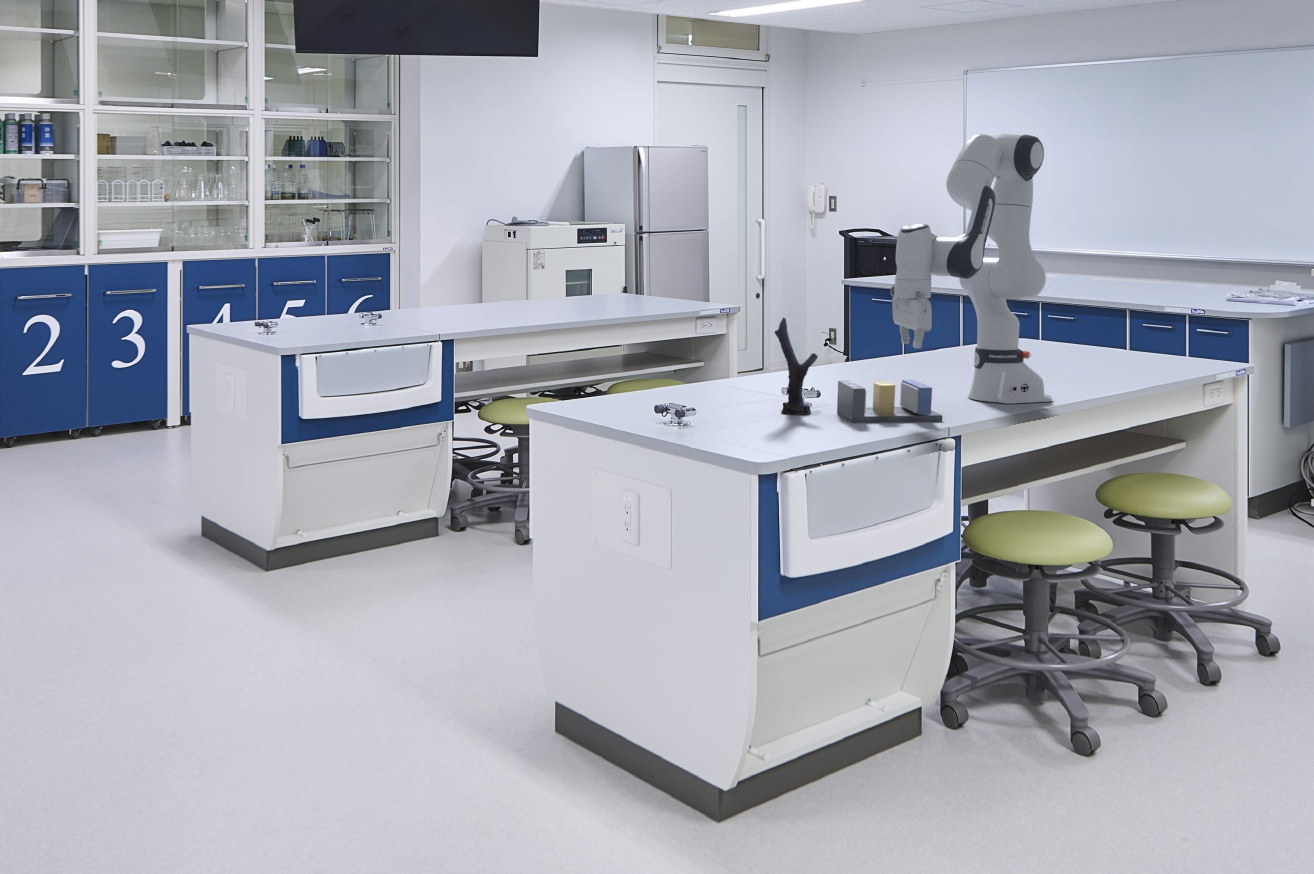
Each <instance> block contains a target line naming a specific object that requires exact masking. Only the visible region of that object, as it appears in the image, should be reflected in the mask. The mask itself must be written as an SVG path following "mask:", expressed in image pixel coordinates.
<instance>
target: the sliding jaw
mask: <svg viewBox="0 0 1314 874" xmlns="http://www.w3.org/2000/svg"><path fill="white" fill-rule="evenodd" d="M901 380H902V381H901V382H900V402H899V403H900V404H899V407H904V408H906V409H908V410H910V411H912V412H914V413H917V414H919V415H923V414H931V410H932V401H933V400H932V399H933V397H932V396H933V387H931V386H929V385H926V384H925V383H922V382H920V381H917V380H915V379H901Z"/></svg>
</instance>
